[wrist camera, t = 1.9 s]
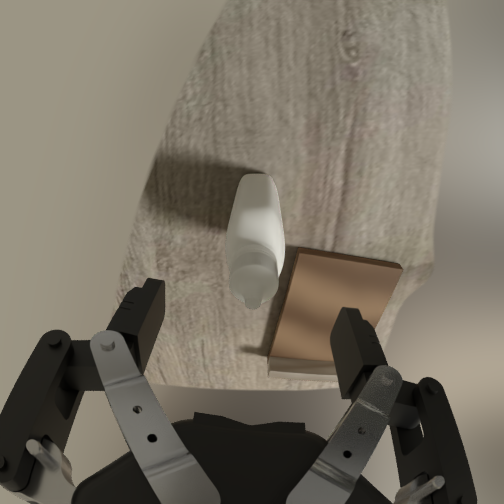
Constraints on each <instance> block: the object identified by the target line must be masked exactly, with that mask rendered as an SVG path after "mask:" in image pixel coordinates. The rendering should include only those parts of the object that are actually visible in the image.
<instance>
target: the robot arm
mask: <svg viewBox="0 0 504 504" xmlns="http://www.w3.org/2000/svg"><path fill="white" fill-rule="evenodd" d="M164 315H165V281H164V280H158V279H152V278H147V280H146V282H145V284H144V285H143V287H142V288H139V287H134V288H133V289H132V290H130V291H129V292H127V294H126V295H125V297H124V299H123V302H121V304H120V306H119V308H118V309H117V311H116V313H115V314H114V316H113V318H112V320H111V322H110V323H109V325H108V327H107V329H106V330H105V331H101V332H98V333H97V334H95V335H94V336H93V337H92V339H91V340H71V338H70V336H69V335H68V334H67V333H66V332H64V331H62V330H52V331H49V332H47V333H45V334H44V335H43V336H42V337H41V339H40V340H39V342H38V344H37V345H36V347H35V349H34V351H33V352H32V354H31V356H30V358H29V359H28V361H27V363H26V365H25V367H24V368H23V370H22V372H21V374H20V376H19V378H18V379H17V381H16V383H15V385H14V388H13V389H12V391H11V393H10V395H9V397H8V399H7V401H6V403H5V405H4V408H3V410H2V412H1V414H0V485H1V486H3V488H5V489H6V490H8V491H9V492H11V493H13V494H14V495H15V496H17V497H19V498H20V499H22V500H25V501H27V502H29V503H30V504H477V496H476V492H475V487H474V483H473V479H472V475H471V471H470V467H469V464H468V460H467V457H466V453H465V450H464V446H463V443H462V440H461V437H460V434H459V430H458V427H457V424H456V421H455V419H454V416H453V413H452V410H451V408H450V404H449V402H448V399H447V396H446V394H445V391H444V389H443V386H442V385H441V384H440V383H439V382H438V381H437V380H435V379H433V378H430V377H426V378H423V379H421V380H420V382H419V383H418V384H415V383H411V382H407V381H404V380H402V377H401V375H400V373H399V372H398V371H397V370H396V369H394V368H393V367H390V366H388V363H387V361H386V358H385V355H384V353H383V350H382V348H381V345H380V344H379V340H378V337H377V335H376V332H375V330H374V327H373V326H372V325H371V324H370V323H369V322H368V321H367V320H363V318H362V315H361V313H360V310H359V309H358V308H350V307H342V308H341V310H340V312H339V314H338V317H337V319H336V321H335V324H334V326H333V329H332V331H331V335H330V346H331V350H332V355H333V359H334V364H335V368H336V373H337V378H338V382H339V387H340V392H341V397H342V399H351V402H352V404H351V405H350V406H349V408H348V409H347V411H346V412H345V414H344V416H343V417H342V418H341V420H340V421H339V423H338V425H337V426H336V427H335V429H334V430H333V432H332V433H331V434H330V436H329V437H328V438H327V440H325V439H324V438H322V437H320V436H319V435H317V434H315V433H312V432H309V431H306V430H305V423H293V422H273V423H267V424H260V425H247V424H244V423H241V422H238V421H235V420H232V419H229V418H226V417H223V416H217V415H210V414H204V413H198V412H195V413H194V418H193V419H187V420H181V421H178V422H174V423H170V422H169V420H168V418H167V417H166V414H165V413H164V411H163V409H162V407H161V406H160V404H159V402H158V400H157V398H156V397H155V395H154V393H153V391H152V389H151V387H150V385H149V383H148V381H147V379H146V378H145V376H144V375H143V374H144V371H145V368H146V365H147V363H148V360H149V357H150V354H151V352H152V349H153V346H154V343H155V341H156V338H157V335H158V333H159V330H160V327H161V325H162V322H163V319H164ZM141 374H142V375H141ZM84 391H105V394H106V396H107V399H108V401H109V404H110V406H111V409H112V411H113V413H114V416H115V418H116V421H117V423H118V425H119V428H120V430H121V432H122V434H123V437H124V439H125V441H126V443H127V445H128V447H129V449H130V451H129V452H127V453H126V454H124V455H123V456H121V457H120V458H118V459H117V460H115V461H114V462H112V463H111V464H109V465H108V466H106V467H104V468H103V469H101V470H100V471H98V472H96V473H95V474H93V475H92V476H90V477H88V478H87V479H85V480H84V481H82V482H81V483H80V484H79V485H78V486H77V487H75V486H74V484H73V482H72V477H71V475H72V467H71V463H70V461H69V460H68V458H67V457H66V456H65V455H64V454H63V453H64V449H65V446H66V443H67V439H68V437H69V434H70V431H71V428H72V425H73V422H74V419H75V416H76V413H77V410H78V407H79V405H80V402H81V399H82V396H83V394H84ZM420 422H421V425H422V428H423V432H424V438H423V434H422V431H421V427H420ZM387 425H389V426H390V430H391V435H392V440H393V445H394V451H395V456H396V462H397V468H398V474H399V480H400V487H401V488H400V489H399V490H398V492H397V494H396V496H395V502H394V503H391V501H389V500H388V499H387V498H386V497H385V496H384V495H383V494H382V493H381V492H380V491H378V490H377V489H376V488H375V487H374V486H373V485H372V484H371V483H370V482H369V481H368V480H367V479H366V478H365V477H363V476H362V475H361V473H362V471H363V469H364V468H365V466H366V464H367V462H368V461H369V459H370V457H371V455H372V454H373V452H374V450H375V448H376V446H377V444H378V442H379V440H380V438H381V436H382V435H383V433H384V430H385V429H386V426H387Z"/></svg>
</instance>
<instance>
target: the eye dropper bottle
mask: <svg viewBox="0 0 504 504" xmlns="http://www.w3.org/2000/svg"><path fill="white" fill-rule="evenodd" d="M225 251H226V260H227V264H228V268H229V271H230V276H229V288H230V290H231V292H232V294H233V295H234V296H235V297H236V298H237V299H238V300H240V301H242V302H245V305H246V307H247V308H249V309H257V308H259V307H260V305H261V303H263V302H266V301H268V300H269V299H271V298H272V297H273V296H274V295H275V293H276V292H277V290H278V286H279V279H278V277H279V275H280V273H281V270H282V267H283V263H284V257H285V240H284V232H283V224H282V217H281V210H280V204H279V197H278V192H277V189H276V186H275V183H274V181H273V179H272V177H271V176H270V175H267V174H246V175H244V176H243V177H242V178H241V180H240V182H239V185H238V188H237V192H236V196H235V200H234V204H233V208H232V212H231V216H230V220H229V224H228V229H227V234H226V244H225Z"/></svg>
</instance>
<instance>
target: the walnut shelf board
mask: <svg viewBox="0 0 504 504" xmlns="http://www.w3.org/2000/svg"><path fill="white" fill-rule="evenodd" d="M402 272H403V268H402V267H401V265H400V264H397V263H391V262H385V261H379V260H373V259H367V258H361V257H355V256H349V255H343V254H337V253H331V252H325V251H318V250H312V249H306V248H300V247H298V250H297V254H296V258H295V262H294V265H293V269H292V273H291V277H290V280H289V284H288V288H287V291H286V295H285V298H284V302H283V306H282V309H281V313H280V316H279V320H278V323H277V326H276V330H275V333H274V337H273V340H272V343H271V347H270V350H269V353H268V357H267V364H268V378H278V379H290V380H304V381H322V382H338V378H337V373H336V368H335V364H334V359H333V355H332V350H331V346H330V335H331V331H332V329H333V326H334V324H335V321H336V319H337V317H338V314H339V312H340V310H341V308H342V307H350V308H358V309H359V310H360V313H361V315H362V318H363V320H367V321H368V322H369V323H370V324H371V325H372V326H373V327H374V329H375V327H376V326H377V324H378V322H379V320H380V318H381V316H382V314H383V312H384V310H385V308H386V306H387V304H388V302H389V300H390V298H391V296H392V293H393V291H394V289H395V287H396V285H397V283H398V280H399V278H400V276H401V274H402Z"/></svg>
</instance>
